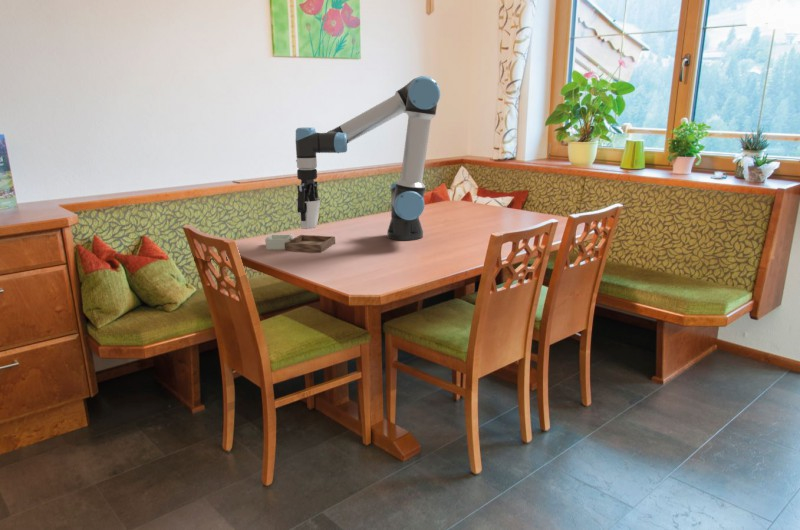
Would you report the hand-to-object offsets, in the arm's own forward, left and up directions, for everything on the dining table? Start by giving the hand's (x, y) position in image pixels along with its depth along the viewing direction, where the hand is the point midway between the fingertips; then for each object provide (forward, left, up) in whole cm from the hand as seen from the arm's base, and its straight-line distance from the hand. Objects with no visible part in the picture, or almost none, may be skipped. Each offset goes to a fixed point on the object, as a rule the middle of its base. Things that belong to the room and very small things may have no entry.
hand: (309, 226), depth 238 cm
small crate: (+12, +3, -8) cm, 15 cm away
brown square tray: (0, 0, -8) cm, 8 cm away
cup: (0, 0, 0) cm, 0 cm away
